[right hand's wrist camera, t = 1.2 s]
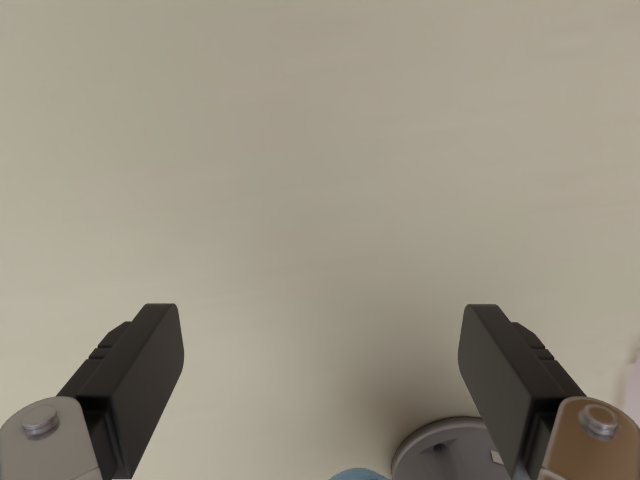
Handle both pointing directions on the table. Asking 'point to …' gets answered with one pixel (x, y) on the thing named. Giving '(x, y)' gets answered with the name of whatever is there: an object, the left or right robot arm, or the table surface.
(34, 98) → the table surface
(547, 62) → the table surface
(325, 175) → the table surface
